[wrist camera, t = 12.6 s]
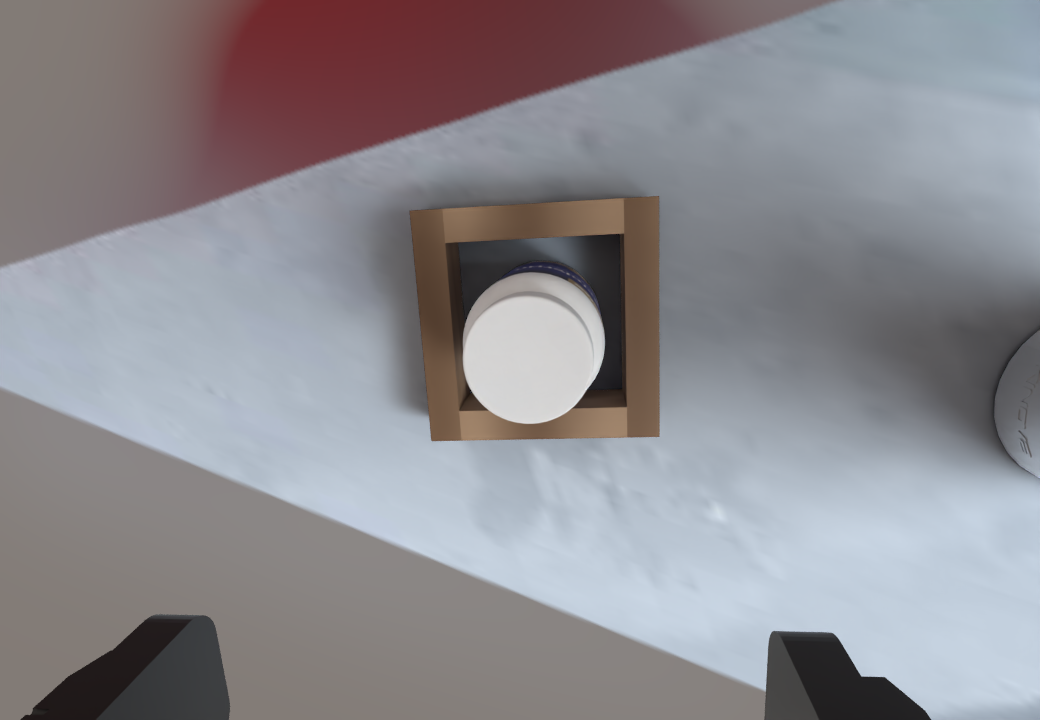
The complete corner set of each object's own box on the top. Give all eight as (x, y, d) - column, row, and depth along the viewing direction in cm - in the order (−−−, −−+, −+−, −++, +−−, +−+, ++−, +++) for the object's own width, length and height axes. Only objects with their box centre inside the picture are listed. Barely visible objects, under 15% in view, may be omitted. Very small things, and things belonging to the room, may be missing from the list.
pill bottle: (618, 286, 30) (638, 322, 20) (571, 387, 32) (569, 464, 22) (513, 240, 30) (482, 254, 20) (470, 343, 31) (423, 401, 22)
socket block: (650, 197, 29) (659, 196, 26) (651, 416, 31) (659, 436, 29) (425, 210, 30) (409, 210, 27) (444, 420, 33) (431, 441, 30)
